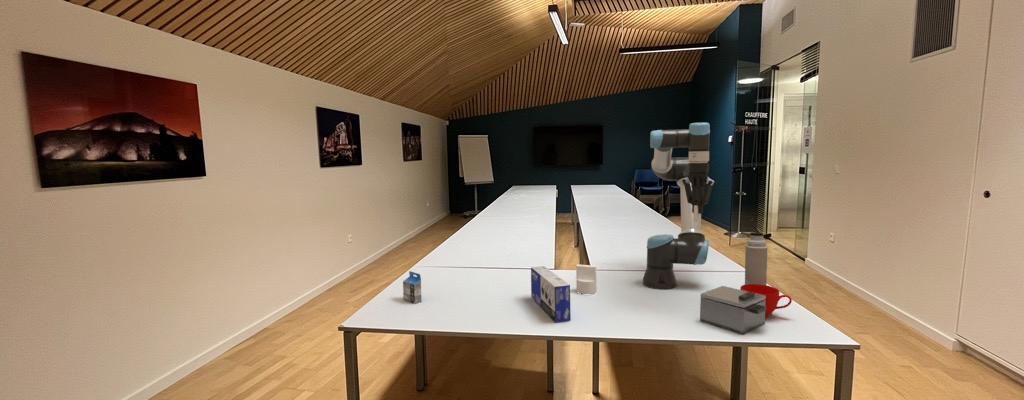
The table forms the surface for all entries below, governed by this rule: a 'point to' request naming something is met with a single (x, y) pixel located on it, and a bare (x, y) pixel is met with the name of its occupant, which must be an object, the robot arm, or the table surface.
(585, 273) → the base with upright slab
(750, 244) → the thermos bottle
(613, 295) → the table surface
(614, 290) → the table surface
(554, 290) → the ink box
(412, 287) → the label tape box
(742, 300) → the lid
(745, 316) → the grey rectangular box
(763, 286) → the ceramic cup
